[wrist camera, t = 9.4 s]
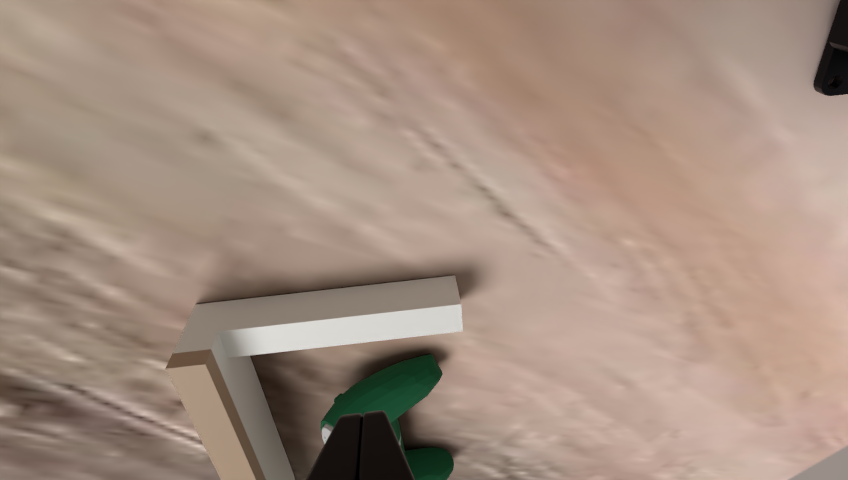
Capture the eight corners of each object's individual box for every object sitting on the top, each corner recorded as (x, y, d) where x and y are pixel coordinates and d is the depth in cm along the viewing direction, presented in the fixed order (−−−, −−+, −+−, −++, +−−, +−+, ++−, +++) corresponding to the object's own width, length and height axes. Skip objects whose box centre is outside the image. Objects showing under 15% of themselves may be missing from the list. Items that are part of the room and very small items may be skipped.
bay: (455, 275, 23) (467, 334, 20) (468, 503, 33) (478, 567, 29) (195, 304, 23) (165, 368, 19) (287, 525, 32) (277, 592, 29)
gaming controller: (391, 326, 27) (298, 401, 23) (447, 357, 24) (355, 446, 21) (411, 437, 32) (338, 513, 28) (460, 471, 29) (387, 559, 26)
